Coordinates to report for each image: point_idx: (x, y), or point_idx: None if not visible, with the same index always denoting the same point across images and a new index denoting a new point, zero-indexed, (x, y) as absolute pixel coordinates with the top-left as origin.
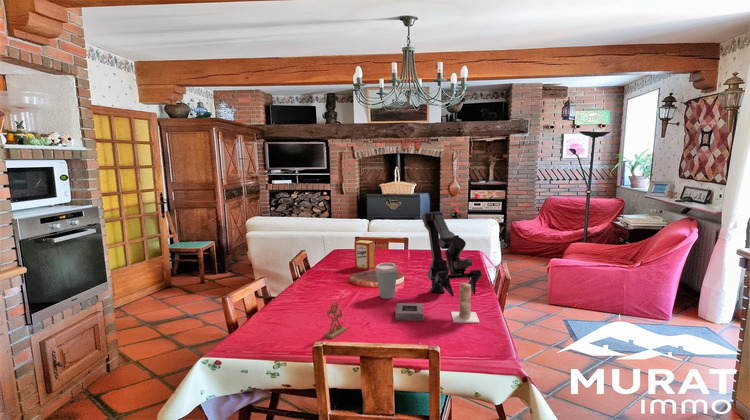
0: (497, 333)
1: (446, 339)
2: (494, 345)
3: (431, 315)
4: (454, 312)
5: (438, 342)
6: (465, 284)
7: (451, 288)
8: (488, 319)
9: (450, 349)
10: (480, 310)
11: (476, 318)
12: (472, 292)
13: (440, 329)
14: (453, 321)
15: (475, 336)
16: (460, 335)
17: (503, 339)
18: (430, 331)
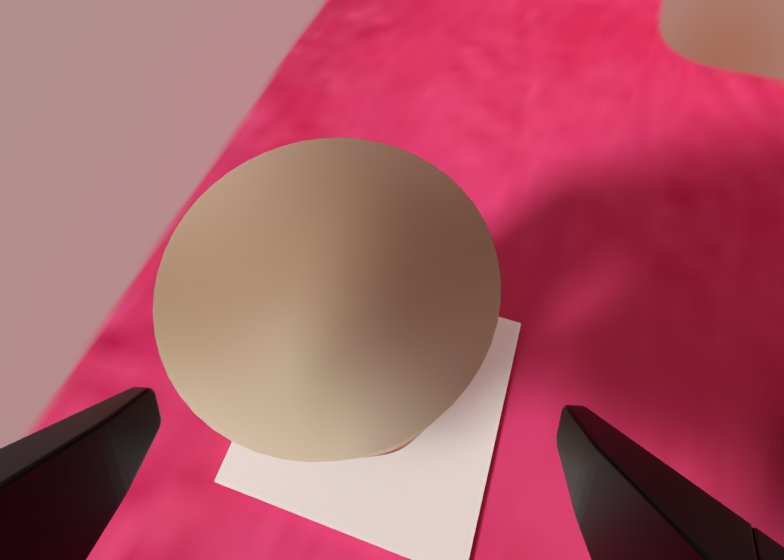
0: (294, 109)
1: (638, 105)
2: (394, 11)
3: None
4: (435, 537)
5: (694, 84)
6: (294, 314)
7: (657, 502)
8: None
9: (638, 17)
10: (120, 551)
11: None
12: (130, 483)
13: (653, 233)
14: (519, 323)
15: (446, 103)
16: (534, 130)
17: (309, 49)
18: (735, 220)
